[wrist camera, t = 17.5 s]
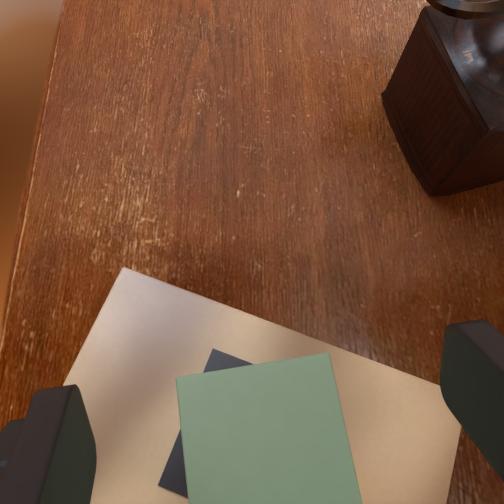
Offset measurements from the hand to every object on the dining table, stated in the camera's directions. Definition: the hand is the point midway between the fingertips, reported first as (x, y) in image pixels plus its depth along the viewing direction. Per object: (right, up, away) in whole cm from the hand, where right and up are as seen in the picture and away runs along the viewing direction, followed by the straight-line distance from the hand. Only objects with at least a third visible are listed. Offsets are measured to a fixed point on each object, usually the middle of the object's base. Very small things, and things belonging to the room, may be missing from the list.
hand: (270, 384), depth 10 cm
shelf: (-1, -9, +20) cm, 22 cm away
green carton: (0, -7, +13) cm, 15 cm away
